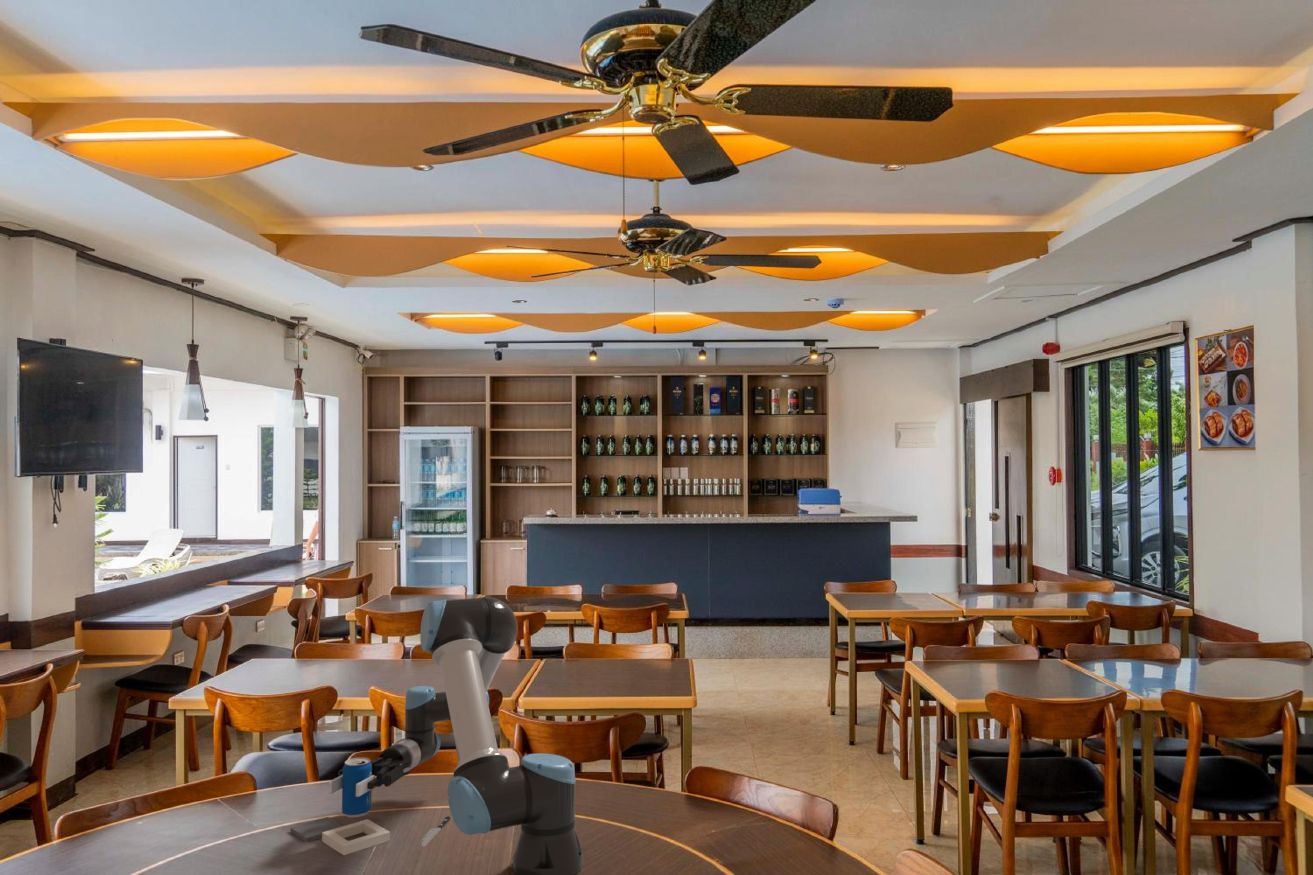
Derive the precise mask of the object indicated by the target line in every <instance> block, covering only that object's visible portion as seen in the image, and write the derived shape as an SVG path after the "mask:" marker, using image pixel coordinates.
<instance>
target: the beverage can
mask: <svg viewBox="0 0 1313 875" xmlns="http://www.w3.org/2000/svg"><path fill="white" fill-rule="evenodd" d="M370 761H371V759H370V758H368V757H352V758H349V759H347V760H345V761H344V765H343V767H342V769H343V781H342V789H341V792H342V794H341V814H342V815H344V816H345V817H348V818H360V817H364V816H366V815H367V814H368V813H369V812H370V811H371V810H372V789H371V790H369V791H368V792H366V793H364V794H363V795H361V796H359V797H356V784H357V783H359V782H361V781H363V780H365V779H367V778H369V777H370V776H372V764H371V763H370Z"/></svg>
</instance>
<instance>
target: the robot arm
mask: <svg viewBox="0 0 1313 875" xmlns="http://www.w3.org/2000/svg"><path fill="white" fill-rule="evenodd" d="M422 613H423V614H422V618H421V621H420V622H421V623H420V633H419V634H420V636H419V638H420V646H421V649H422V651H423V652H426V653H430V652H431V657H432V661H433V662H434V663H435V664H436V665H437V664H438V665H439V666H440V668H441V674H442V680H443V686H444V689H445V690H444V691H441V692H436V691H435V688H434V687H433V686H429V685H418V686H412V687H410V688H409V689H407V691H406V693H405V701H404V702H405V704H404V717H405V718H404V721H405V722H404V727H405V728H404V739H402V740H400V741H398V742H396V743H394V744H393V745H391V746H389V747H387V748H385V749H383V751H382V752H380V755H379V756H378V757H377V758H375V759H373V760H370V763H371V764H372V776H370V777H369V778H367V779H365V780H363V781H361V782H359V783H357V784H356V797H359V796H361V795H363V794H364V793H366V792H368V791H369V790H371V791H372V790H374V789H375V788H376V787H378V788H380V787H382V786H383V785H384V787H390V786H391V785H393V784H394V783H395V782H397V781H399V780H400V779H402V778H403V777H405V776H407V775H409V774H410V770H412V769H413V768H415V767H417V766H419V765H420V764H423V763H425V762H426V761H429V760H430V759H432V757H434V756H435V755H436V754H437V753H438V752H439V750H440V748H441V742H442V741H441V740H442V739H441V737H440V735H439V733H438V731H436V730H435V723H439V722H440V723H441V722H446V721H450V722H451V727H452V733H453V739H454V745H455V749H456V755H457V760H458V763H457V765H456V767H455V768H454V770H453V777H451V779H450V781H449V782H448V784H447V796H448V799H447V801H448V807H449V811H450V815H451V818H452V820H453V822H454V825H455V826H456V828H457V829H458V830H459V831H460V832H461V833H462V834H464V835H466V836H467V835H468V836H471V835H478V834H483V835H485V834H487V833H490V832H493V831H497V830H501V829H502V830H503V829H506V828H511V827H515V826H520V834H519V837H518V840H517V844H516V847H515V851H514V853H513V857H512V871H513V873H514V874H515V875H576V874H578V873H579V872H580V871H581V870H582V869H583V865H584V863H583V862H584V857H583V856H584V855H583V851H582V849H581V845H580V841H579V837H578V834H577V831H576V827H575V826H576V822H575V821H576V819H575V818H576V782H577V781H576V772H575V765H574V763H573V762H572V761H571V760H570V759H568V758H567V757H564V756H562V755H558V754H552V753H540V752H539V753H537V752H536V753H528V754H526V755H524V756H522V758H521V761H520V765H518V766H511V767H510V764H509V761H508V756H507V755H506V754H503V753H501V752H500V751H499V748H498V744H497V740H496V734H495V729H494V725H493V720H492V714H491V712H490V707H489V706H490V695H489V692H488V690H489V688H490V685H491V683H492V681H493V679H494V677H495V674H496V672H497V670H498V669H499V666H500V665H501V663H502V661H503V658H504V656H505V654H506V653H508V652H510V650H512V648H513V647H514V644H515V643H516V640H517V637H518V632H519V625H518V621H517V618H516V615H515V613H514V612H513V610H512V608H511V607H510V606H509V605H508V604H507V603H505V602H504V601H502V600H501V599H498V598H495V597H492V596H483V597H472V598H471V597H470V598H458V599H457V598H455V599H445V598H444V599H442V600H433V601H429V603H428V604H427V605H426V606H425V607H424V611H423V612H422ZM337 775H338V777H335V778H333V779H331V780H329V781H328V794H329V795H333V794H334V793H336V792H338V791H340V790H342V781H343V768H341V769H340V770H338V774H337Z"/></svg>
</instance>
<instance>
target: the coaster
mask: <svg viewBox="0 0 1313 875" xmlns="http://www.w3.org/2000/svg"><path fill="white" fill-rule="evenodd" d="M342 826H343V825H341V824H339V823H337V822H336V821H335V820H333V819H331V818H330V817H323V818H321V819H320V818H318V819H316V820H313V821H309V822H305V823H302V824H298V825H295V826H291V827H290V832H291V833H292V834H293V833H294V834H293V835H294V836H296V837H298V838H299V839H301V840H302V841H304V842H305V843H309V842H313V841H315V840H319V839H322V832H325V831H329V830H332V829H335V828H339V827H342Z"/></svg>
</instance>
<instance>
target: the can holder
mask: <svg viewBox="0 0 1313 875" xmlns="http://www.w3.org/2000/svg"><path fill="white" fill-rule="evenodd" d="M341 826H342V827H339V828H335V829H332V830H329V831H325V832H322V838H321V840H322V841H321V842H323V843H325V844H326V845H327V846H328V847H330V848H331V849H333V850H335V851H336V852H338V853H339V854H341V855H343V856H347V855H350V854H352V853H356V852H359V851H362V850H364V849H368V848H371V847H374V846H378V845H380V844H383V843H385V844H386V843H388V842H390V840H391V831H389V830H387V829H386V828H383V827H382V826H380V825H379V824H377V823H375V822H373V821H372V820H370V819H368V818H366V819H364V820H363V819H362V820H360V821H356V822H354V823H353V822H352V823H349V824H347V825H341ZM362 833H364V834H365V835H364V836H361V837H358V838H354V839H351V840H350V839H349V840H347V839H346V838H350V837H352V836H354V835H358V834H362Z"/></svg>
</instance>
